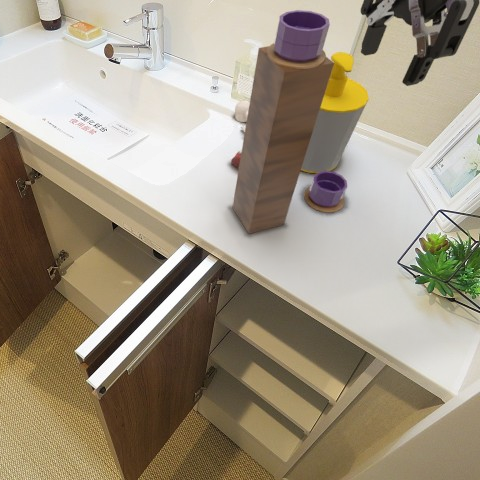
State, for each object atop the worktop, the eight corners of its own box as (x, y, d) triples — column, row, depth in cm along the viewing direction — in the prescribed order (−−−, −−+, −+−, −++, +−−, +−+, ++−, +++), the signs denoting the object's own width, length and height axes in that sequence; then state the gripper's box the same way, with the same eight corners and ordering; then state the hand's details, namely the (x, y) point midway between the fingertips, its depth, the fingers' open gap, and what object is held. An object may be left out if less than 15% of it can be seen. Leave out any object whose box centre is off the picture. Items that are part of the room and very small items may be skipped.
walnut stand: (283, 224, 75) (334, 62, 52) (248, 234, 73) (284, 72, 51) (265, 199, 79) (305, 39, 56) (232, 207, 78) (258, 47, 55)
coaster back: (352, 207, 77) (352, 206, 77) (317, 216, 76) (317, 215, 76) (329, 182, 82) (330, 181, 82) (296, 190, 80) (297, 189, 80)
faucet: (248, 130, 101) (244, 89, 96) (293, 149, 86) (292, 103, 81) (233, 135, 100) (229, 94, 95) (277, 156, 86) (274, 109, 80)
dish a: (329, 59, 52) (339, 26, 49) (287, 67, 51) (295, 33, 48) (304, 39, 56) (312, 7, 53) (265, 46, 54) (270, 14, 51)
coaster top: (336, 63, 52) (337, 61, 52) (284, 73, 50) (284, 70, 50) (305, 38, 56) (306, 36, 56) (256, 47, 55) (256, 45, 55)
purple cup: (346, 204, 77) (353, 188, 74) (319, 211, 76) (325, 195, 73) (328, 184, 81) (335, 168, 78) (302, 190, 80) (307, 175, 77)
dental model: (230, 149, 82) (252, 132, 86) (227, 166, 85) (248, 148, 89) (253, 162, 80) (275, 143, 84) (249, 178, 83) (271, 160, 87)
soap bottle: (287, 177, 83) (316, 76, 67) (273, 138, 91) (295, 40, 75) (352, 174, 83) (396, 73, 67) (331, 135, 91) (366, 38, 75)
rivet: (269, 154, 88) (270, 148, 87) (262, 157, 88) (264, 151, 87) (244, 128, 94) (245, 122, 93) (238, 130, 94) (239, 124, 92)
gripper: (376, -96, 46) (332, 49, 58) (477, -63, 37) (400, 100, 50) (432, -102, 48) (377, 41, 60) (541, -71, 39) (451, 89, 51)
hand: (388, 68), depth 55 cm, fingers open, 8 cm apart
